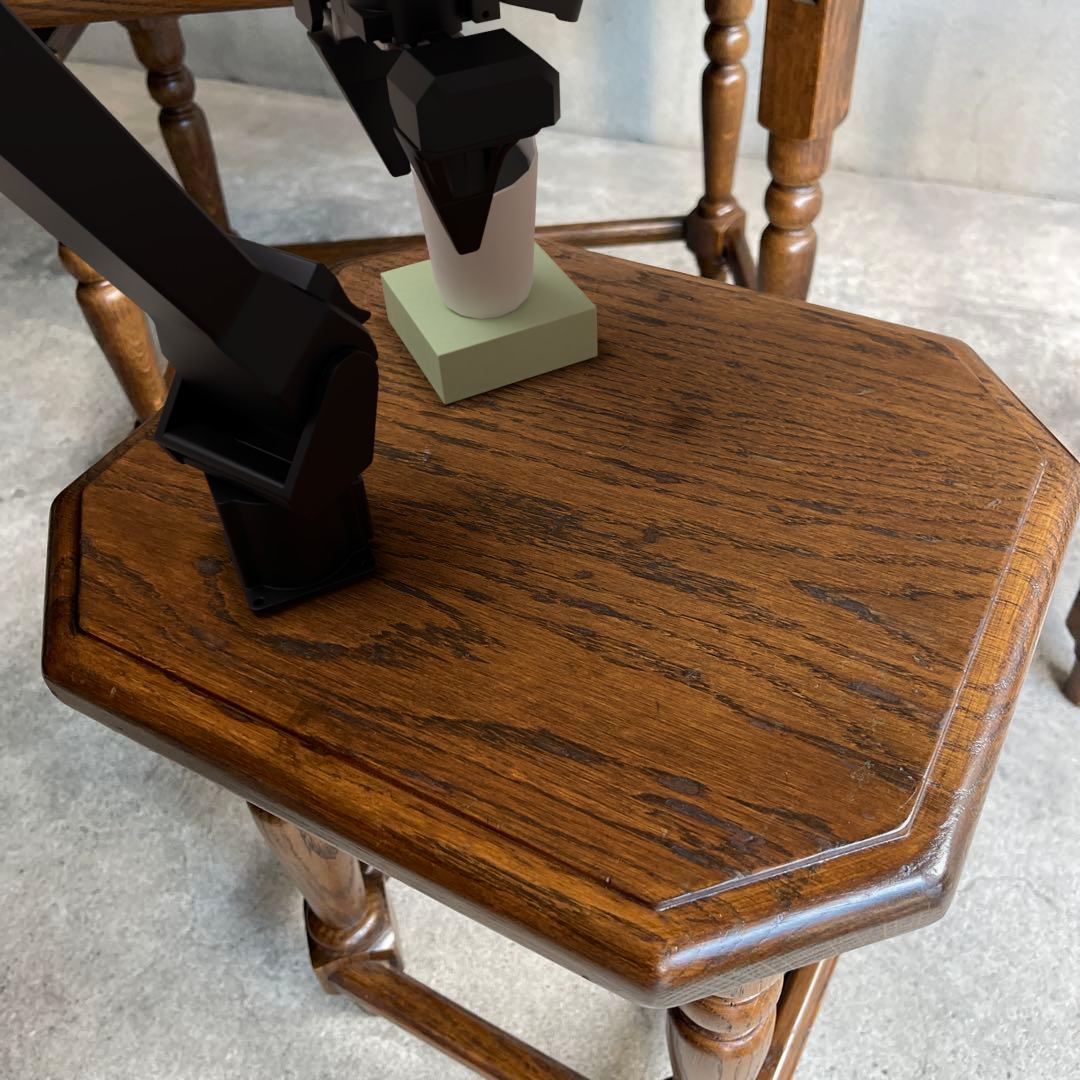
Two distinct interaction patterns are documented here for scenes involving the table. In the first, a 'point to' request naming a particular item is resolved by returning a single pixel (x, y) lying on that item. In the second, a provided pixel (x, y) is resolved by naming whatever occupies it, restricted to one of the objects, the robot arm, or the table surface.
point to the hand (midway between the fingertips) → (433, 211)
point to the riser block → (490, 330)
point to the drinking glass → (490, 243)
